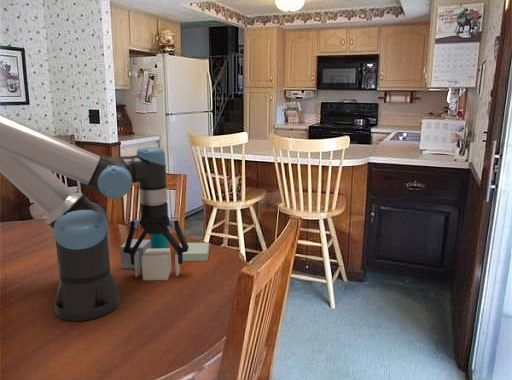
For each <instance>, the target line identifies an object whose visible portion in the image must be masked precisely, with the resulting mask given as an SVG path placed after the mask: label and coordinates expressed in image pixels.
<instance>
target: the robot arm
mask: <svg viewBox="0 0 512 380" xmlns="http://www.w3.org/2000/svg"><path fill="white" fill-rule="evenodd" d="M165 155H166V154H165V150H164V149H163V148H161V147H159V146H147V147H139V148H138V149H137V150H136V154H135V155H129V156H126V155H125V156H100V155H98V154H95V153H93V152H91V151H88V150H86V149H83V148H81V147H79V146H77V145H74V144H72V143H70V142H68V141H65V140H63V139H60V138H58V137H56V136H53V135H51V134H49V133H46V132H45V131H42V130H39V129H37V128H35V127H33V126H29V125H27V124H26V123H23V122H20V121H18V120H16V119H13V118H12V117H9V116H7V115H4V114H1V113H0V174H1V175H3V176H4V177H5V178H6V179H7V180H8V181H9V182H10V183H11V184H13V186H15V187H16V188H17V189H18V190H19V191H20V192H21V193H22V194H23V195H25V197H26V198H28V199H29V200H30V201H31V202H32V203H33V204H34V205H35V206H37V208H39V209H40V211H42V212H43V213H44V214H45V215H46V224H47V225H48V226H49V227H51V228H52V229H53V237H54V239H55V248H56V256H57V265H58V273H59V274H58V275H59V285H58V289H57V292H56V296H55V300H54V313H55V315H56V317H58V318H59V319H62V320H65V321H69V322H70V321H71V322H82V321H89V320H94V319H97V318H101V317H104V316H107V315H108V314H110V313H111V312H113V311H114V310H116V309H117V308H118V307H119V305H120V302H121V299H120V297H121V296H120V292H119V288H118V287H117V284H116V283H115V280H114V278H113V276H112V274H111V265H110V264H111V263H110V251H109V227H110V226H109V225H110V224H109V217H108V215H107V214H106V212H105V210H104V208H102V207H101V205H99V204H97V203H95V202H92V201H91V200H89V198H88V197H87V196H86V195H85V194H84V193H82V192H74V191H72V189H70V188H69V187H68V186H67V185H66V184H65V183H64V182H63V181H61V180H60V178H59V177H58V176H57V175H56V174H58V175H61V176H63V177H66V178H69V179H70V180H74V181H76V182H78V183H80V184H84V185H87V186H89V187H91V188H93V189H96V190H97V191H100V192H101V193H102V195H103V196H105V197H107V198H110V199H119V198H122V197H124V196H126V195H127V194H128V192H130V191H131V188H132V184H138V188H139V189H138V190H139V202H140V205H139V206H140V207H139V208H140V219H136V218H132V219H131V221H129V231H128V234H127V238H126V244H125V247H124V250H123V251H124V253H129V254H130V256H131V264H132V265H135V269H134V276H135V277H139V276H140V273H141V269H140V264H139V252H136V250H137V249H138V247H139V245H140V244H141V242H142V241H143V240H145V237H146V236H147V235H148V234H149V236H150V235H152V234H163V236H164V237H166V239H167V240H168V243H169V245H171V246H172V248H173V249H174V251H175V255H174V258H175V259H174V260H175V261H174V263H175V276H177V277H179V275H180V272H181V270H180V265H182V264H183V262H184V261H183V253H184V252H187V251H188V248H189V246H188V244H187V243H188V241H187V239H186V238H185V235H184V232H183V230H182V228H181V224H180V223H181V222H180V218H178V217H177V218H175V219H170V217H169V210H168V209H169V207H168V206H169V205H168V202H167V201H168V189H167V187H168V186H167V163H166V157H165ZM54 173H56V174H54ZM139 225H140V226H141V227H142V229H143V231H142V232H141V234H140V236H139V238H137V239H138V241H137V242H136V244H135V245H134V247H133V248H130V246H131V243H132V240H133V239H134V235H135V233H136V230H137V228H138V227H139ZM169 225H171V227H172V228H174V231H175V234H176V236H177V238H178V241H179V242H178V241H177V239H176V238H175V236H174V235H173V233H172V232H171V231H170V229H169ZM167 227H168V228H167ZM180 243H181V246H182V247H181V246H180V245H179V244H180Z"/></svg>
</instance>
